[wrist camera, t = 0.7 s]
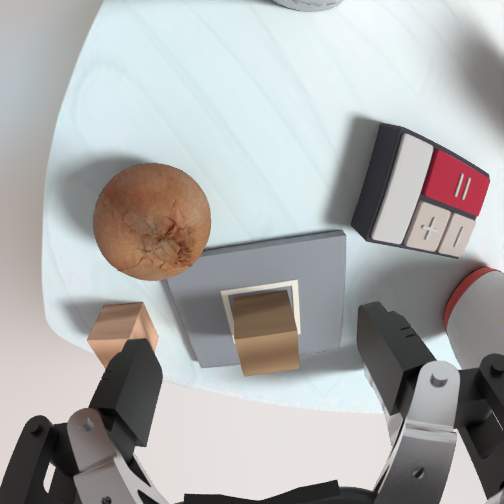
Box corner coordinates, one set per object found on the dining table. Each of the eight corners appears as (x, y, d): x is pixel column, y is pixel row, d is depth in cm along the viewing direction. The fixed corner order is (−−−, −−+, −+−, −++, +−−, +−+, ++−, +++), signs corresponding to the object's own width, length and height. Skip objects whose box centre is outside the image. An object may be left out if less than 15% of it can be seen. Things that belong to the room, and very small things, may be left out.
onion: (206, 189, 28) (258, 230, 21) (151, 262, 29) (181, 326, 21) (133, 132, 22) (154, 148, 14) (74, 219, 22) (69, 279, 15)
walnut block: (233, 297, 29) (234, 339, 24) (287, 290, 29) (297, 330, 24) (242, 335, 32) (244, 376, 26) (290, 328, 32) (299, 368, 26)
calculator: (462, 262, 27) (367, 245, 24) (442, 245, 30) (348, 225, 28) (495, 177, 22) (405, 126, 19) (471, 166, 25) (379, 121, 23)
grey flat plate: (163, 257, 28) (160, 263, 27) (342, 230, 27) (346, 235, 26) (201, 361, 35) (201, 368, 34) (337, 341, 35) (339, 348, 34)
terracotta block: (104, 305, 31) (86, 340, 25) (143, 301, 30) (129, 338, 25) (121, 338, 33) (108, 373, 28) (158, 336, 33) (149, 373, 28)
